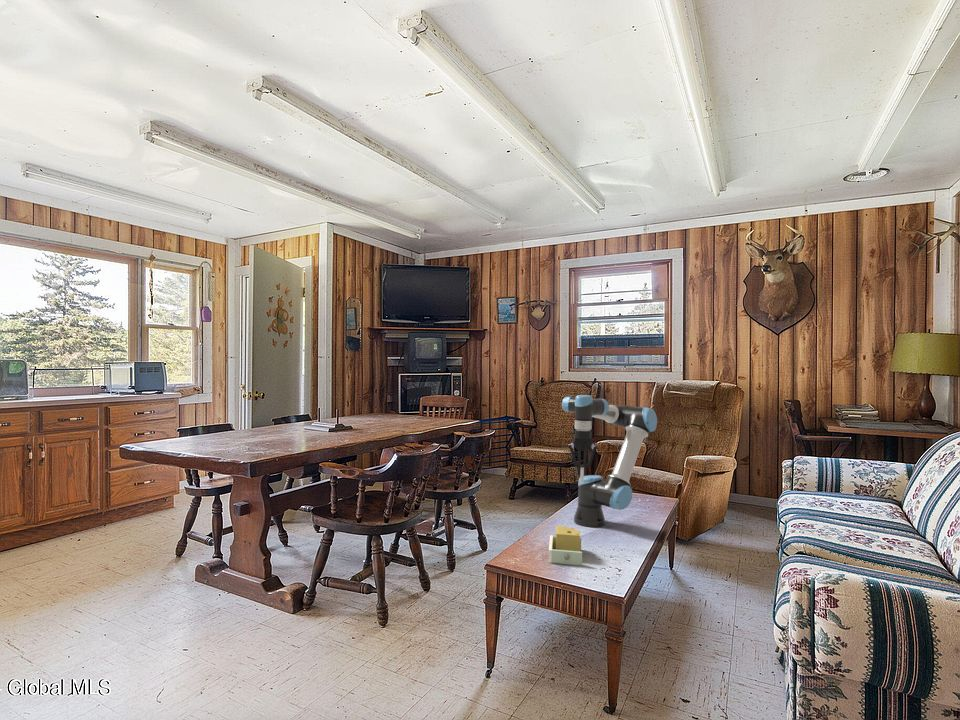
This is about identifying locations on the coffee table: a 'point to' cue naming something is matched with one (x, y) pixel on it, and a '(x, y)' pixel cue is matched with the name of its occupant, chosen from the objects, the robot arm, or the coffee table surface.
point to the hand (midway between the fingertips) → (581, 482)
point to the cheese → (567, 539)
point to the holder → (563, 554)
